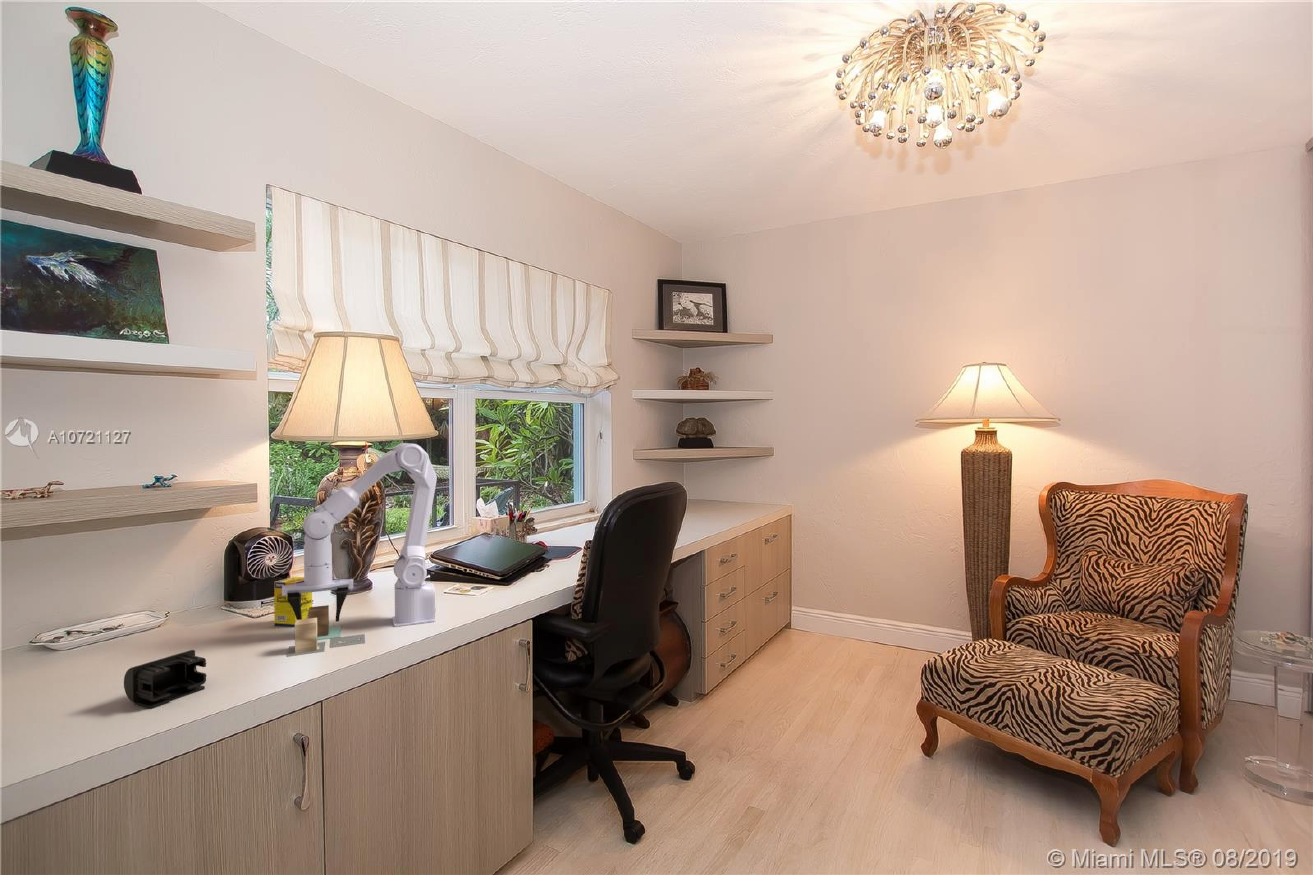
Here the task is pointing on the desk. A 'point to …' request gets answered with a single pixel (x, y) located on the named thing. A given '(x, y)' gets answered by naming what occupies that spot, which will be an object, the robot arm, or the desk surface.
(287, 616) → the supplement box
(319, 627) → the walnut block
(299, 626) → the oak block
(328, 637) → the felt pad
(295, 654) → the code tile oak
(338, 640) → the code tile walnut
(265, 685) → the desk surface
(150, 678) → the end cap
